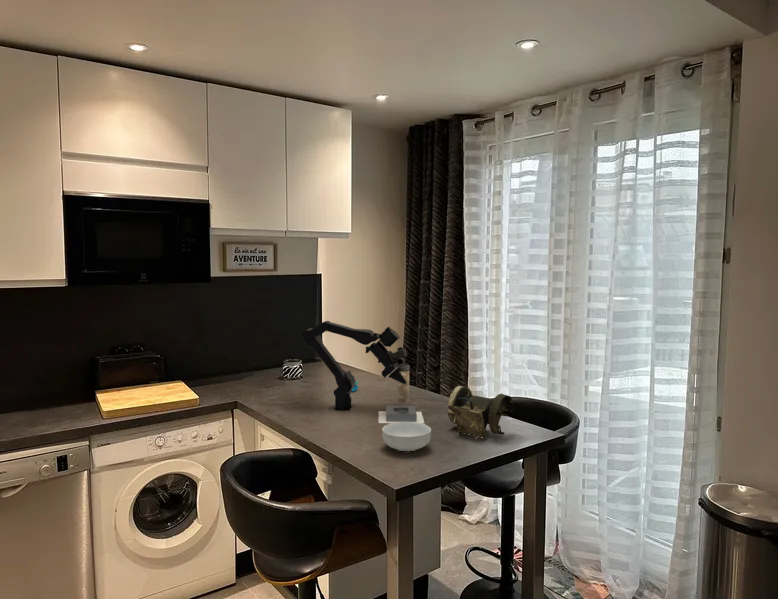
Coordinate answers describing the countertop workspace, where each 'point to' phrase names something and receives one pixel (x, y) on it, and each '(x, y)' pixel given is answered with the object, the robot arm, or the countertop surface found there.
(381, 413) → the board
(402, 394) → the beige tall cylinder
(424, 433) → the cereal bowl
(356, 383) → the gear
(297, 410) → the countertop surface
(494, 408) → the bench grinder
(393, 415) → the housing
